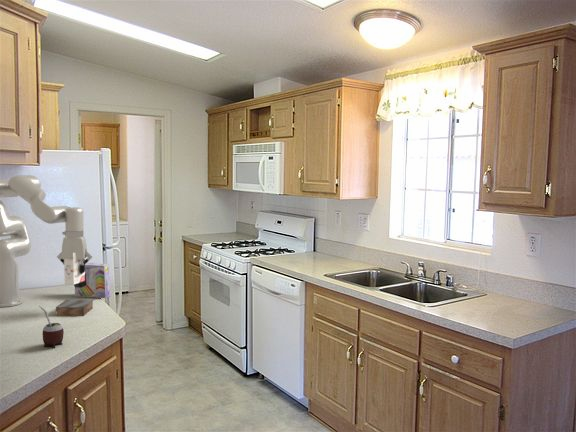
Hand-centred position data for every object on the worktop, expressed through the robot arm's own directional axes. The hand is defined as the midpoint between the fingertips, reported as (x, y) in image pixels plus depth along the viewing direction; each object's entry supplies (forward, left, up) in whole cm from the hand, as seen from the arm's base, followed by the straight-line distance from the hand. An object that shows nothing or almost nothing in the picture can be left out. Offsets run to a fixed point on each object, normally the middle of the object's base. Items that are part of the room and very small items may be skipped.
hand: (74, 272), depth 217 cm
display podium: (0, 0, -18) cm, 18 cm away
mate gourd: (+7, -43, -19) cm, 47 cm away
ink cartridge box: (0, 0, -5) cm, 5 cm away
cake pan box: (-2, +28, -19) cm, 33 cm away
